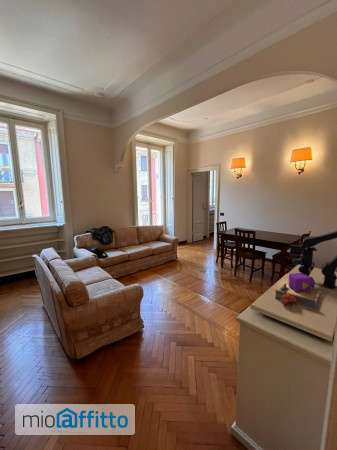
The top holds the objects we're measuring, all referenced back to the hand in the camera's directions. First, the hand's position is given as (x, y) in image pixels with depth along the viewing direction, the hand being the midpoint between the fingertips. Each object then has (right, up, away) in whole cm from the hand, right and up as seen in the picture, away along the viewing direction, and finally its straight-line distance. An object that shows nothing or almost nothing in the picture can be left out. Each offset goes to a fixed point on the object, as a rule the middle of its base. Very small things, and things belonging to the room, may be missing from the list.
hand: (306, 278), depth 138 cm
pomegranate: (-27, -9, -26) cm, 38 cm away
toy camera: (-8, -5, -8) cm, 12 cm away
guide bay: (-17, -6, -17) cm, 25 cm away
